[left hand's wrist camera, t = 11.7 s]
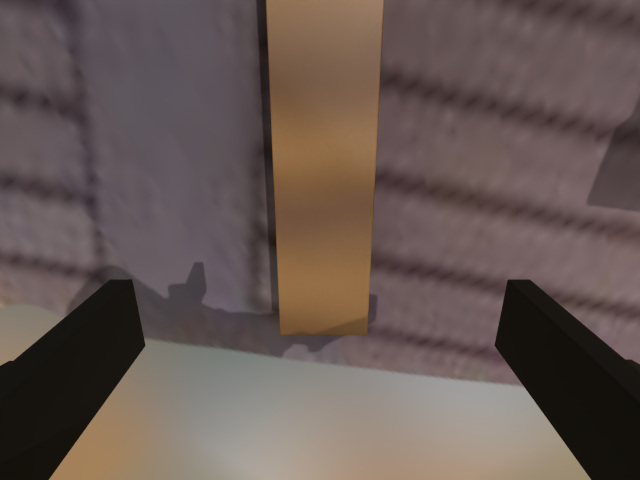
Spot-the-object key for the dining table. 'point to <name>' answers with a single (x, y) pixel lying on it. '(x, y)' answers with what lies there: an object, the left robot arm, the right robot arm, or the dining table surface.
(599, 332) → the dining table surface
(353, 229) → the post
